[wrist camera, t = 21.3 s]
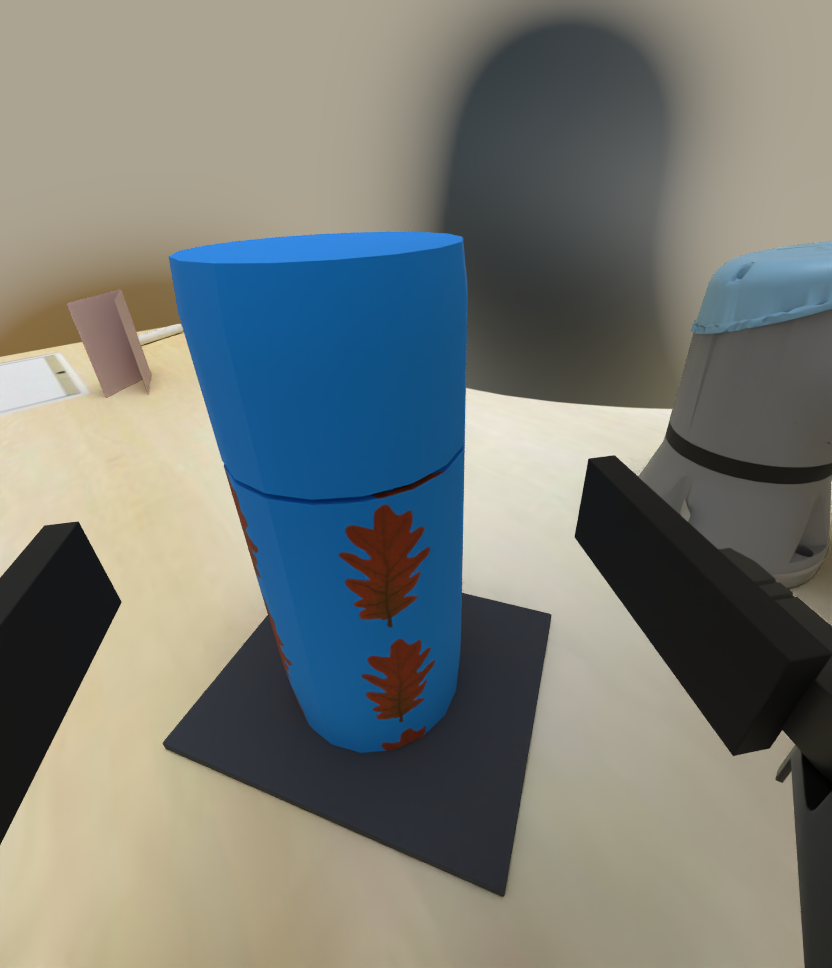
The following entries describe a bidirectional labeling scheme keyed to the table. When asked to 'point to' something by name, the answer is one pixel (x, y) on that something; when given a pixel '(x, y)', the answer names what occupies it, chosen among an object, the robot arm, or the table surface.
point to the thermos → (344, 459)
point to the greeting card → (110, 341)
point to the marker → (160, 334)
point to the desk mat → (395, 773)
